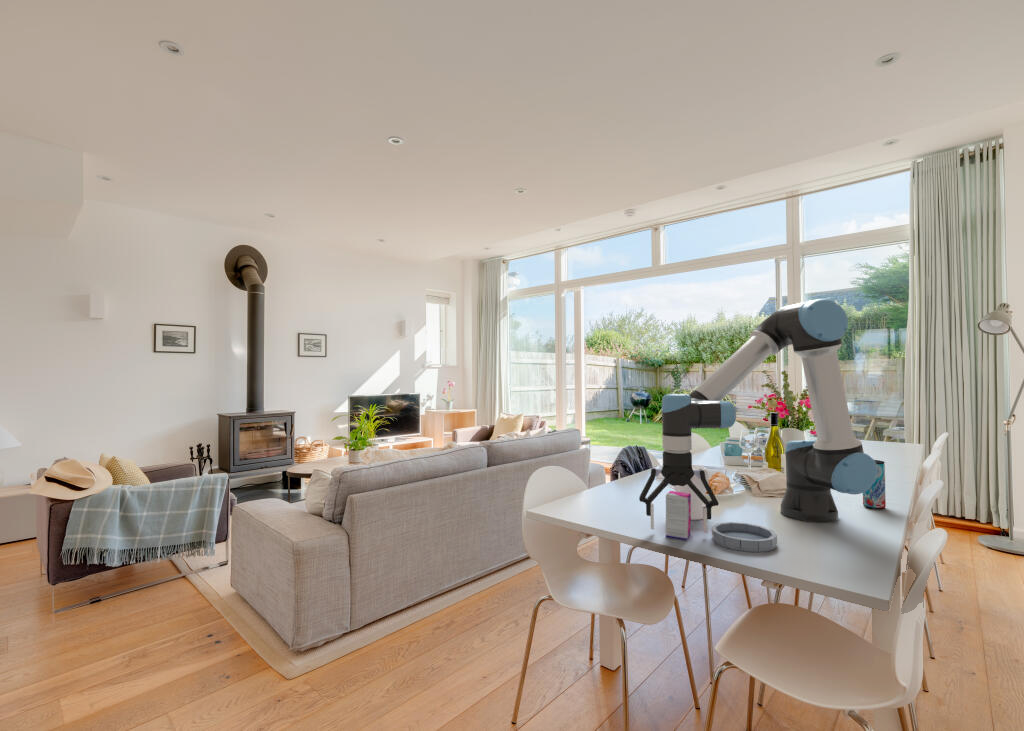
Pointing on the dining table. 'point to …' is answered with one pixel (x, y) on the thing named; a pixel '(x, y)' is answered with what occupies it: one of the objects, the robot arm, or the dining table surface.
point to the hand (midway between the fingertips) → (678, 529)
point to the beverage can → (876, 490)
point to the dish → (744, 537)
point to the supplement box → (678, 515)
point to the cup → (695, 500)
